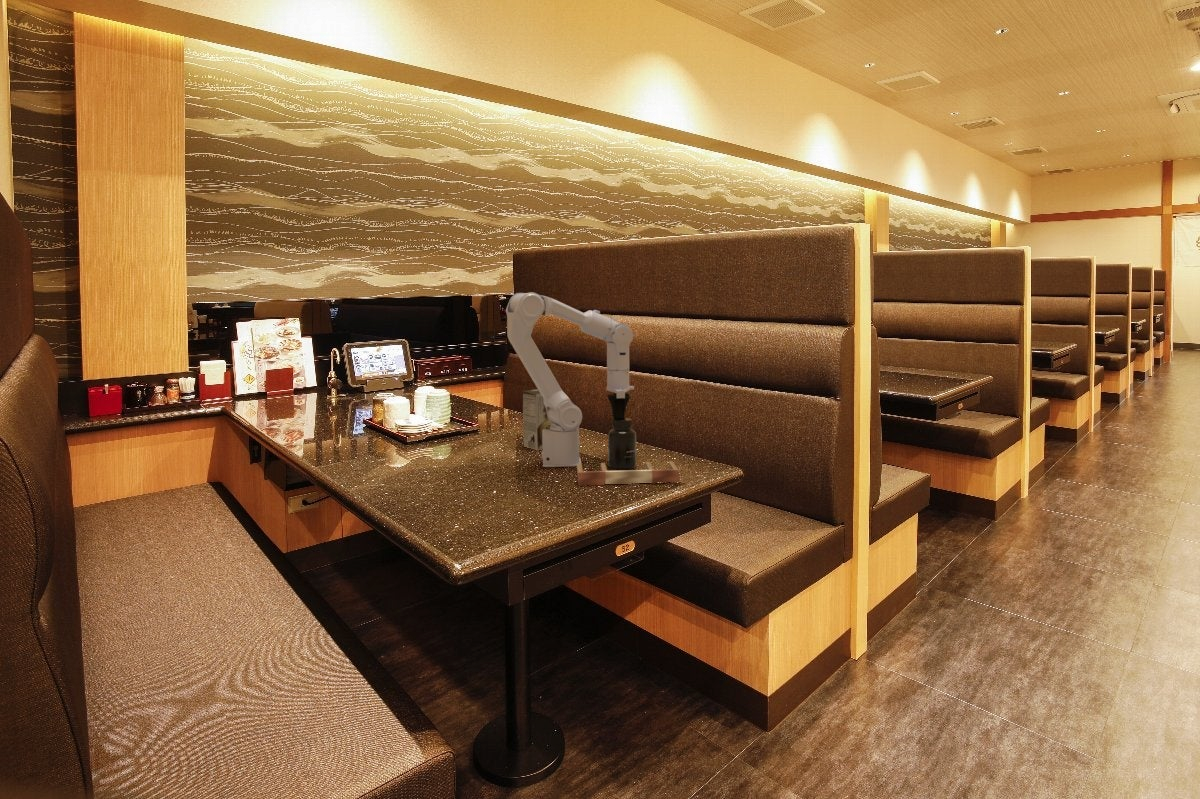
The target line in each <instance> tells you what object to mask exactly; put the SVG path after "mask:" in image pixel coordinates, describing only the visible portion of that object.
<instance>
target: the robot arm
mask: <svg viewBox="0 0 1200 799" xmlns="http://www.w3.org/2000/svg"><path fill="white" fill-rule="evenodd" d="M505 312H506V318H507V319H506V327H507V328H506V330H507V334H506V335H507V338H508V341H509V343H510V344H511V346H512V348H513V349H514V352H515V353H516V355H517V356H518V357H519V360H520V361H521V363H522V364H523V366H524V368H525V370H526V371H527V373H528V376H530V378H531V379H532V382H533V383H534V385H535V387H536V388H537V389H538V390H539V392H540V393H541V395H542V397H543V399H544V405H545V407H546V410H547V417H548V419H549V420H550V421H551V425H550V429H544V430H542V445H543V450H542V451H541V459H542V467H543V468H559V467H561V468H562V467H565V468H566V467H577V463H582V458H581V457H580V425H581V423H582V420H583V412H582V410H581V409H580V408H579V407H578V406H577V405H576V404H574V403H573V402H572V401H571V399H570V397H569V396H568V395H567V394H566V393H565V392H564V391H563V389H562V388H561V386H560V384H559V383H558V380H557V379H556V377H555V376H554V374H553V372H552V370H551V368H550V367H549V365H548V363H547V362H546V360H545V358H544V357H543V355H542V352H541V351H540V350H539V347H538V346H537V344H536V343H535V341H534V339H533V337H532V333H533V329H534V327H535V324H537V322H538V321H539V319H540V318H541V316H550V315H551V316H554V317H557V318H559V319H563V320H566V321H568V322H571V323H573V324H576V325H578V327H579V328H580V331H581V332H582V333H584V334H587V335H589V336H592V337H595V338H597V339H599V340H602V341H604V342H605V343H606V381H607V382H606V384H607V385H606V387H605V388H606V391H608V392H612V393H613V394H607V395H606V397H607V398H608V402H609V403H610V408H611V412H612V420H613V419H614V418H625V414H626V408H627V405H628V402H629V401H630V398H631V397H630V394H629V393H627V392H629V391H631V390H635V386H634V385H630V344H631V343H632V341H633V339H634V335H635V334H634V333H633V331H632V328H631V327H630V326H629V325H628V324H626V323H624V322H617V321H616V320H617V319H616V318H615V317H607V316H605V315H603V314H601V311H600V310H597V309H593V310H591V309H589V310H587V311H585V312H582V311H580V310H579V309H576V308H574V307H572V306H570V305H567V304H566V303H563V302H561V301H559V300H557V299H554V298H552V297H549V296H545V295H540V294H539V293H536V292H516V293H514V294H513V295H512V296H511V297H510V299H509V301H508V303H507V306H506V309H505Z"/></svg>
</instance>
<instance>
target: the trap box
mask: <svg viewBox="0 0 1200 799" xmlns="http://www.w3.org/2000/svg"><path fill="white" fill-rule="evenodd" d="M644 464H645V466H644V469H634V470H633V469H629V470H608V469H607V465H606V463H605V462H601V463H600V470H591V471H590V470H589V471H588V470H586V471H583V464H582V462H581V463H577V466H576V468H577V469H576V471H577V472H576V473H577V475H576V476H578V477H577V483H578V484H577V485H578V486H579V487H580V486H581V487H582V486H585V485H589V486H605V485H604V484H628V485H632V484H631V483H655V482H679V483H680V470H679V468H678V467H677V465H676V464H675V462H674V461H673V460H670V461H668V464H667V466H668V468H667V469H663V468H662V469H654V467H653V466H652V463H651V461H645V462H644Z"/></svg>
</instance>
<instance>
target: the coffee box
mask: <svg viewBox="0 0 1200 799" xmlns="http://www.w3.org/2000/svg"><path fill="white" fill-rule="evenodd" d="M521 394H522V415H523V416H522V417H523V418H522V419H523V420H522V421H523V423H522V424H523V426H522V427H523V428H522V429H523V448H524V447H527V448H531V449H535V450H541V449H543V445H542V430H544V429H550V425H551V421H550V420H549V419H548V417H547V410H546V407H545V405H544V399H543V397H542V395H541V393H540V392H539V390H538V388H537V389H530V390H523V391H522V393H521ZM527 448H526V449H527ZM531 449H530V450H531ZM535 450H534V451H535ZM541 451H542V450H541Z"/></svg>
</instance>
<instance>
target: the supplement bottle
mask: <svg viewBox="0 0 1200 799" xmlns="http://www.w3.org/2000/svg"><path fill="white" fill-rule="evenodd" d="M611 426H612V427H613V428H612V429H610V430H609V432H608V435H607V436H608V438H607V439H608V442H607V443H608V444H607V446H608V447H607V448H608V449H607V450H608V451H607V452H608V453H607V459H608V460H607V461H608V463H607V464H608V465H607V466H608V467H609V468H610V469H612V468H613V469H612V470H616V469H629V470H632V469H631V468H633V469H634V468H636V466H637V465H636V464H637V432H636V431H635V430H634V429H632V428H633V419H632V418H629V417H624V418H614V419H613V418H612V425H611Z"/></svg>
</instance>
